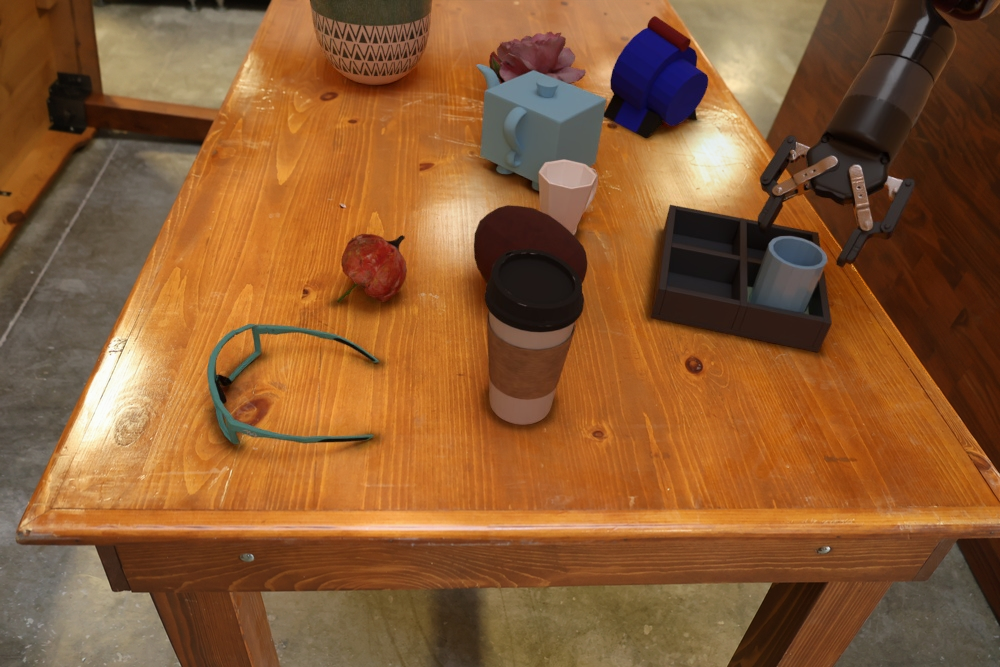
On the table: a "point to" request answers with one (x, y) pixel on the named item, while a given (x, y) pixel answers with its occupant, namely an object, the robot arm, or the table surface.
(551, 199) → the cup
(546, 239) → the dark brown oval ball
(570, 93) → the teapot
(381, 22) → the planter
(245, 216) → the table surface
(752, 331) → the black divided tray
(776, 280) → the blue cup
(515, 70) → the flower
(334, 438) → the sunglasses
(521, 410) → the coffee cup
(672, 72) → the alarm clock
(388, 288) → the pomegranate
